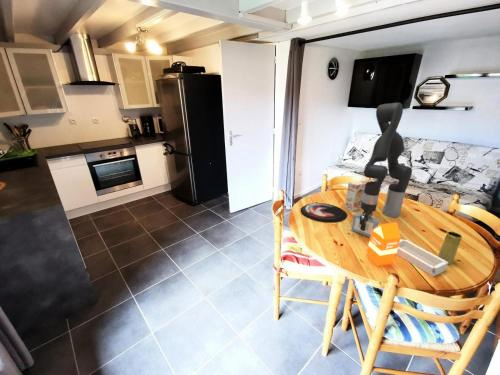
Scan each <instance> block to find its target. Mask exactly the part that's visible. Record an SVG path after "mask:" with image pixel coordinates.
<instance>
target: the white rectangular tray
mask: <svg viewBox="0 0 500 375" xmlns="http://www.w3.org/2000/svg"><path fill="white" fill-rule="evenodd" d="M396 255H397V256H399V257H400V258H402V259H404V260H405V261H407V262H408V263H411V264H412V265H413V266H416V267H417V268H419V269H420V270H422V271H424V273H425V272H426V273H427V274H429V275H430V276H432V277H436V276H438V275H439V274H441V273H443V272H445V271H446V270H447V267H448V265H449V264H448V262H447V261H445V260H443V259H441V258H439V257H438V255H435V254H434V253H432V252H430V251H427V250H426V249H424V248H422V247H421V246H419V245H418V244H415V243H413V242H411V241H409V240H407V239H405V238H400V242H399V245H398V249H397V253H396Z"/></svg>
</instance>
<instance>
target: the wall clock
mask: <svg viewBox="0 0 500 375" xmlns="http://www.w3.org/2000/svg"><path fill="white" fill-rule="evenodd" d="M300 210H301V211H300V213H301V212H302V213H301V214H302V215H303V216H304V217H305V216H306V218H308V219H309V218H310V220H313V221H315V222H320V223H340V222H343V221H344V220H346V219H347V218H348V214H347V212H346V211H345V210H344V209H343V208H341V207H339V206H337V205H334V204H330V203H324V202H313V203H308V204H305V205H302V206H301V208H300Z"/></svg>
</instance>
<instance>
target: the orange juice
mask: <svg viewBox="0 0 500 375" xmlns="http://www.w3.org/2000/svg"><path fill="white" fill-rule="evenodd" d="M401 239H402V237H401V233H400V230H399V226H398V221H396V222H388V223H381V224H378V226H377V227H376V228H375V229H373V230H372V233H371V237H369V240H368V245H367V247H368V248H367V251H366V256H365V257H367V258H368V259H369V260H370V261H371V262H372V263H373V264H375V265H376V267H379V266H386V265H392V264H394V263H395V259H396V255H397V254H396V253H397V249H398V245H399V242H400V240H401Z"/></svg>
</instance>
